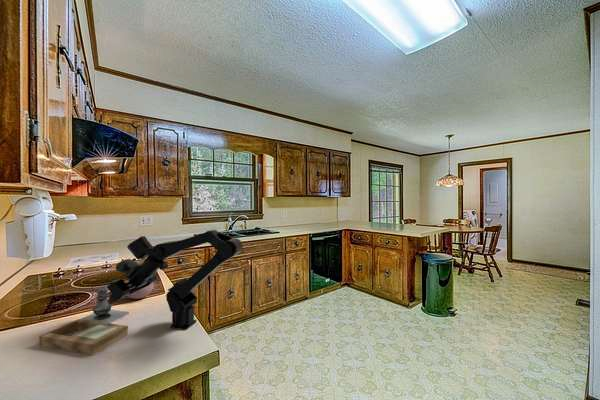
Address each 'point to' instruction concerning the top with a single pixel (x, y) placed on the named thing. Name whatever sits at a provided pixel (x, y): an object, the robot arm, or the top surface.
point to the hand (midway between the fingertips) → (119, 297)
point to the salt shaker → (102, 305)
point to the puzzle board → (84, 336)
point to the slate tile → (114, 316)
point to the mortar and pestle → (140, 292)
